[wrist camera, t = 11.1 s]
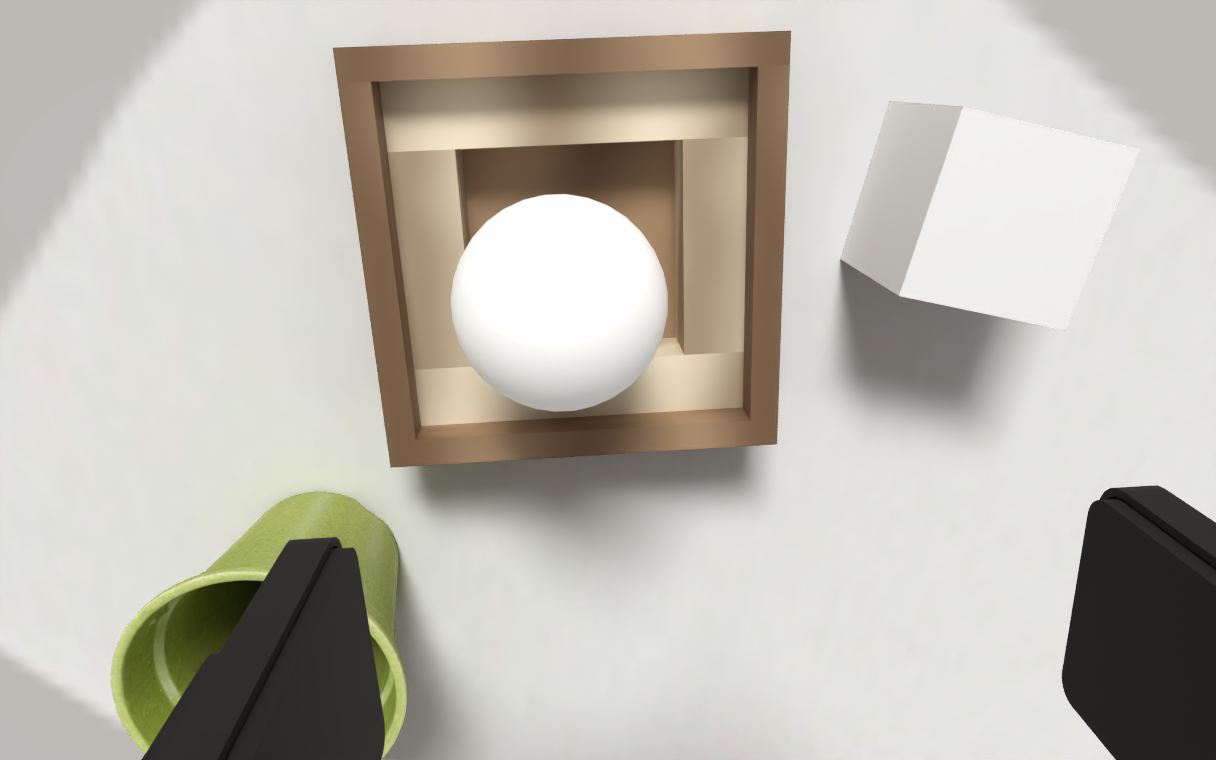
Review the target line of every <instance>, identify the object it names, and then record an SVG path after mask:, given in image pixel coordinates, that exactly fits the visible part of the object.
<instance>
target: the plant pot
mask: <svg viewBox="0 0 1216 760" xmlns="http://www.w3.org/2000/svg"><path fill="white" fill-rule="evenodd" d="M327 537H337V538H338V539H339V540H340V543H341V545H342V548H352V547H353V548H354V549H355V550H356V553H357V556H358V561H359V567H360V573H361V579H362V586H363V592H364V598H365V604H366V610H367V616H368V623H369V629H370V635H371V641H372V647H373V653H374V660H375V666H376V672H377V678H378V684H379V690H380V697H381V703H382V709H383V715H384V722H385V743H384V751H383V755H382V759H383V758H384V757H385V755H386V754H387V753H388V752H389V750H390V749H391V747H392V746H393V745H394V743H395V741H396V740H397V737H398V735H399V733H400V731H401V728H402V726H403V722H404V718H405V714H406V709H407V698H408V687H407V679H406V674H405V670H404V666H403V663H402V660H401V657H400V655H399V653H398V651H397V647H396V643H395V640H394V626H395V603H396V590H397V576H398V563H399V558H398V549H397V546H396V542H395V539H394V537H393V535H392V532H391V531H390V529H389V527H388V526H387V525H386V523H385V522H384V521H383V520H381V519H380V518H378V517H377V516H375V515H374V514H372V513H371V512H370V511H368V510H367V509H366V508H364V507H363V506H362V505H361V504H360V503H358V502H357V501H356V500H354V499H352V498H350V497H347V496H343V495H339V494H335V493H326V492H311V493H304V494H299V495H295V496H292V497H290V498H287V499H285V500H283V501H281V502H279V503H278V504H277V505H275V506H274V507H272V508H271V509H270V510H269V511H267V512H266V513H265V514H264V515H263V516H262V517H261V518H260V519H259V520H258V521H257V522H256V523H255V524H254V525H253V526H252V527H251V528H250V529H249V530H248V531H247V532H246V533H245V534H244V535H243V536H242V537H241V538H240V539H239V540H238V541H237V542H236V543H234V544H233V545H232V546H231V547H230V548H229V549H228V550H227V551H226V552H225V553H224V554H223V555H222V556H221V557H220V558H219V559H218V560H217V561H216V562H215V563H214V564H213V565H212V566H211V567H210V568H209V569H208V570H206V571H205V572H203V573H201V574H200V575H198V576H195V577H192V578H189V579H187V580H185V581H183V582H180V583H178V584H176V585H174V586H172V587H171V588H169V589H167V590H165V591H164V592H162V593H161V594H159V595H158V596H157V597H155V598H154V599H153V600H151V601H150V602H149V603H148V604H147V605H145V606H144V607H143V608H142V609H141V610H140V611H139V612H138V614H137V615H136V616H135V617H134V618H133V619H132V621H131V622H130V623H129V624H128V626H127V627H126V629H125V630H124V632H123V634H122V636H121V638H120V640H119V642H118V645H117V647H116V650H115V653H114V657H113V662H112V668H111V688H112V694H113V698H114V700H115V705H116V710H117V713H118V715H119V717H120V720H121V722H122V724H123V726H124V727H125V728H126V730H127V731H128V732H129V735H130V736H131V738H132V740H133V741H134V743H135V744H136V745H137V747H138V748H139V749H140V750H141V751H142V752H143V753H144V754H146V752H147V750H148V749H149V747H150V746H151V744H152V742H153V741H154V739H155V738H156V736H157V735H158V733H159V731H160V730H161V728H162V727H163V725H164V723H165V722H166V720H167V719H168V717H169V715H170V714H171V712H172V711H173V709H174V707H175V706H176V704H177V703H178V701H179V700H180V698H181V696H182V695H183V693H184V692H185V690H186V688H187V687H188V685H189V684H190V682H191V680H192V679H193V677H194V676H195V674H196V673H197V671H198V669H199V668H200V666H201V665H202V663H203V662H204V661H205V659H206V658H207V657H208V656H209V655H210V654H212V653H214V652H216V651H221V650H222V648H223V646H224V645H225V643H226V641H227V640H228V638H229V637H230V635H231V633H232V632H233V630H234V628H235V627H236V625H237V623H238V622H239V620H240V618H241V617H242V615H243V614H244V612H245V610H246V609H247V607H248V605H249V604H250V602H251V600H252V599H253V597H254V596H255V594H256V592H257V591H258V589H259V587H260V586H261V584H262V582H263V581H264V579H265V578H266V576H267V574H268V573H269V571H270V569H271V568H272V566H273V564H274V563H275V561H276V560H277V558H278V556H279V555H280V553H281V551H282V550H283V548H284V546H285V545H286V543H287V542H288V541H289V540H295V539H311V538H327ZM382 759H381V760H382Z"/></svg>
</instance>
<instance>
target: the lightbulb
mask: <svg viewBox="0 0 1216 760" xmlns="http://www.w3.org/2000/svg"><path fill="white" fill-rule="evenodd" d="M451 310H452V321H453V324H454V328H455V331H456V334H457V338H458V341H459V344H460V347H461V349H462V350H463V352H464V354H465V356H466V358H467V360H468V362H469V363H470V365H471V366H472V367H473V368H474V370H475V371H476V372H477V373H478V374H479V376H480V377H481V378H482V379H483V380H484V381H485V382H486V383H488V384H489V385H490V386H491V387H492V388H494V389H495V390H496V391H497V392H499V393H501V394H502V395H504V396H506V397H508V398H510V399H511V400H513V401H515V402H517V403H519V404H522V405H525V406H528V407H531V408H534V409H540V410H547V411H554V412H558V411H575V410H580V409H584V408H589V407H593V406H595V405H597V404H600V403H602V402H604V401H607V400H609V399H611V398H613V397H614V396H616V395H617V394H619V393H620V392H622V391H623V390H625V389H626V388H628V387H629V386H630V385H631V384H632V383H633V382H634V381H635V380H636V379H637V378H638V377H639V376H640V375H641V374H642V373H643V372H644V371H645V369H646V368H647V366H648V365H649V363H650V362H651V360H652V359H653V357H654V356H655V354H656V351H657V349H658V346H659V344H660V342H661V339H662V337H663V333H664V329H665V324H666V319H667V314H668V291H667V286H666V282H665V277H664V272H663V269H662V267H661V265H660V262H659V260H658V258H657V255H656V253H655V251H654V249H653V248H652V246H651V245H650V244H649V242H648V241H647V239H646V238H645V236H644V235H643V233H642V232H641V231H640V230H639V229H638V228H637V227H636V226H635V225H634V224H633V223H632V222H631V221H630V220H629V219H628V218H627V217H625V216H624V215H622V214H621V213H619V212H617V211H616V210H614V209H613V208H611V207H609V206H608V205H605V204H603V203H600V202H597V201H595V200H592V199H590V198H586V197H580V196H574V195H568V194H555V195H542V196H537V197H533V198H529V199H525V200H522V201H520V202H518V203H515V204H513V205H511V206H509V207H507V208H505V209H503V210H502V211H500V212H499V213H497V214H496V215H495V216H493V217H492V218H491V219H489V220H488V221H487V222H486V223H485V224H484V225H483V226H482V227H481V228H480V229H479V231H478V232H477V233H476V234H475V235H474V236H473V237H472V239H471V241H470V242H469V244H468V246H467V248H466V249H465V251H464V253H463V254H462V256H461V258H460V260H459V263H458V266H457V269H456V272H455V275H454V278H453V284H452V293H451Z"/></svg>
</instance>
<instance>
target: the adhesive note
mask: <svg viewBox="0 0 1216 760" xmlns="http://www.w3.org/2000/svg"><path fill="white" fill-rule="evenodd" d="M1139 151H1140V149H1137V148H1133V147H1129V146H1124V145H1120V144H1116V143H1112V142H1108V141H1104V140H1100V139H1095V138H1091V137H1087V136H1083V135H1079V134H1075V133H1071V132H1067V131H1062V130H1058V129H1054V128H1050V127H1046V126H1042V125H1038V124H1034V123H1029V122H1025V121H1021V120H1017V119H1013V118H1009V117H1005V116H1001V115H996V114H992V113H988V112H984V111H980V110H976V109H972V108H967V107H963V106H950V105H935V104H921V103H907V102H892V101H889V104H888V107H887V110H886V113H885V117H884V120H883V123H882V126H881V130H880V133H879V136H878V139H877V142H876V146H875V149H874V152H873V155H872V159H871V162H870V165H869V168H868V171H867V175H866V178H865V181H864V184H863V188H862V191H861V194H860V197H859V200H858V204H857V207H856V210H855V213H854V216H853V220H852V223H851V226H850V229H849V233H848V236H847V239H846V242H845V245H844V249H843V252H842V255H841V258H840V259H841V260H842V261H844V262H846V263H847V264H849V265H850V266H852V267H854V268H855V269H857V270H858V271H860V272H862V273H863V274H865V275H866V276H868V277H870V278H871V279H873V280H874V281H876V282H877V283H879V284H881V285H882V286H884V287H885V288H887V289H889V290H890V291H892V292H893V293H895V294H897V295H898V296H901V297H906V298H911V299H916V300H921V301H925V302H930V303H935V304H940V305H945V306H949V307H954V308H959V309H964V310H969V311H974V312H978V313H983V314H988V315H993V316H998V317H1002V318H1007V319H1012V320H1017V321H1022V322H1026V323H1031V324H1036V325H1041V326H1046V327H1050V328H1055V329H1060V330H1065V331H1066V329H1067V327H1068V324H1069V322H1070V319H1071V317H1072V314H1073V312H1074V309H1075V307H1076V305H1077V302H1078V300H1079V297H1080V295H1081V292H1082V290H1083V288H1084V285H1085V283H1086V280H1087V278H1088V275H1089V273H1090V270H1091V268H1092V266H1093V263H1094V261H1095V258H1096V256H1097V253H1098V251H1099V248H1100V246H1101V244H1102V241H1103V239H1104V236H1105V234H1106V231H1107V229H1108V227H1109V224H1110V222H1111V219H1112V217H1113V214H1114V212H1115V209H1116V207H1117V205H1118V202H1119V200H1120V197H1121V195H1122V192H1123V190H1124V187H1125V185H1126V183H1127V180H1128V178H1129V175H1130V173H1131V170H1132V168H1133V166H1134V163H1135V161H1136V158H1137V156H1138V153H1139Z"/></svg>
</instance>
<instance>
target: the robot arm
mask: <svg viewBox="0 0 1216 760" xmlns="http://www.w3.org/2000/svg"><path fill="white" fill-rule="evenodd" d="M1062 683H1063V688H1064V692H1065V695H1066V697H1067V699H1068V701H1069V703H1070V704H1071V706H1072V707H1073V708H1074V709H1075V711H1076V712H1077V713H1078V714H1079V715H1080V717H1081V718H1082V719H1083V720H1084V722H1085V723H1086V724H1087V725H1088V726H1089V728H1090V729H1091V730H1092V731H1093V732H1094V734H1095V735H1096V736H1097V737H1098V739H1099V740H1100V741H1101V742H1102V743H1103V745H1104V746H1105V747H1106V748H1107V750H1108V751H1109V752H1110V753H1111V754H1112V756H1113V757H1114V758H1115V759H1116V760H1216V523H1215V522H1214V521H1212V520H1211V519H1209V518H1208V517H1206V516H1205V515H1203V514H1202V513H1200V512H1199V511H1197V510H1196V509H1194V508H1193V507H1191V506H1190V505H1188V504H1187V503H1185V502H1184V501H1182V500H1181V499H1179V498H1178V497H1176V496H1175V495H1173V494H1172V493H1170V492H1169V491H1167V490H1166V489H1164V488H1162V487H1159V486H1139V487H1123V488H1110V489H1108V490H1106V491H1105V492H1104V493H1103V495H1102V496H1101V498H1100V500H1097V501H1095V502H1093V503H1092V505H1091V506H1090V508H1089V511H1088V516H1087V522H1086V528H1085V534H1084V541H1083V547H1082V553H1081V559H1080V565H1079V571H1078V578H1077V584H1076V590H1075V596H1074V602H1073V608H1072V615H1071V621H1070V627H1069V633H1068V639H1067V646H1066V652H1065V658H1064V664H1063V670H1062ZM384 743H385V722H384V715H383V709H382V703H381V697H380V690H379V684H378V678H377V672H376V666H375V660H374V653H373V647H372V641H371V635H370V629H369V623H368V616H367V610H366V604H365V598H364V592H363V586H362V579H361V573H360V567H359V561H358V556H357V553H356V550H355V549H354V548H353V547H352V548H342V545H341V543H340V540H339V539H338V538H337V537H327V538H311V539H295V540H289V541H288V542H287V543H286V545H285V546H284V548H283V550H282V551H281V553H280V555H279V556H278V558H277V560H276V561H275V563H274V564H273V566H272V568H271V569H270V571H269V573H268V574H267V576H266V578H265V579H264V581H263V582H262V584H261V586H260V587H259V589H258V591H257V592H256V594H255V596H254V597H253V599H252V600H251V602H250V604H249V605H248V607H247V609H246V610H245V612H244V614H243V615H242V617H241V618H240V620H239V622H238V623H237V625H236V627H235V628H234V630H233V632H232V633H231V635H230V637H229V638H228V640H227V641H226V643H225V645H224V646H223V648H222V650H221V651H216V652H214V653H212V654H210V655H209V656H208V657H207V658H206V659H205V661H204V662H203V663H202V665H201V666H200V668H199V669H198V671H197V673H196V674H195V676H194V677H193V679H192V680H191V682H190V684H189V685H188V687H187V688H186V690H185V692H184V693H183V695H182V696H181V698H180V700H179V701H178V703H177V704H176V706H175V707H174V709H173V711H172V712H171V714H170V715H169V717H168V719H167V720H166V722H165V723H164V725H163V727H162V728H161V730H160V731H159V733H158V735H157V736H156V738H155V739H154V741H153V742H152V744H151V746H150V747H149V749H148V750H147V752H146V754H145V755H144V757H143V759H142V760H381V759H382V755H383V751H384Z"/></svg>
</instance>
